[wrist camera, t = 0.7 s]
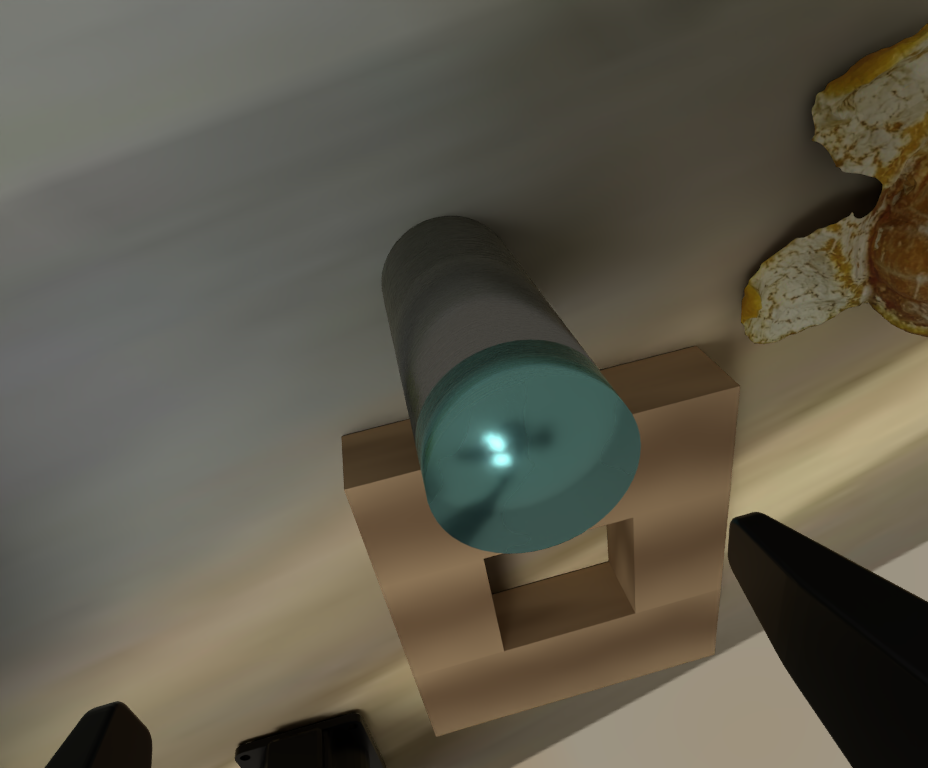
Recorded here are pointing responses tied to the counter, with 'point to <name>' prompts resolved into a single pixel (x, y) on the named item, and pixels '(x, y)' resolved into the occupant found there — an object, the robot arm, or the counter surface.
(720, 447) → the dock
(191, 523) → the counter surface
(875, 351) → the counter surface
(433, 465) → the grey and teal cylinder
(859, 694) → the robot arm
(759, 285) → the fruit
